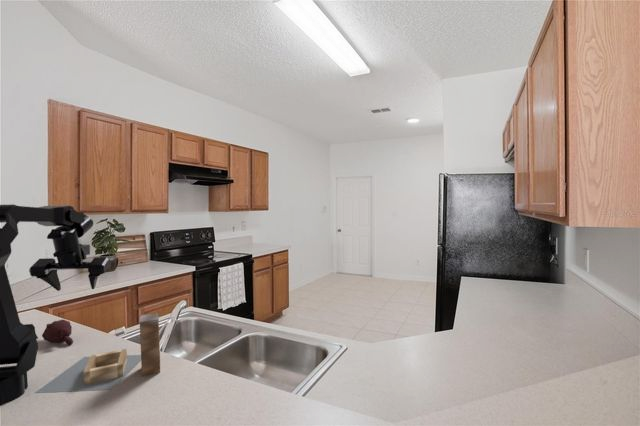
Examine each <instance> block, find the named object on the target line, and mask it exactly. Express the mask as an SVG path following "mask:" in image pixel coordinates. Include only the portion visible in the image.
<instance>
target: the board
mask: <svg viewBox="0 0 640 426" xmlns="http://www.w3.org/2000/svg"><path fill="white" fill-rule="evenodd" d="M90 357H91V356H84V357H82V358H81V359H80V360H78V361H77V362H75V363H74V364H73V365H71V366H70V367H68V368H67V369H66V370H64V371H63V372H62V373H60V374H59V375H57V376H56V377H55V378H53V379H52V380H50V381H49V382H48V383H46V384H45V385H43V386H42V387H41V388H39V389H38V390H37V391H35V392H34V394H42V393H43V394H44V393H46V394H47V393H65V392H67V393H69V392H89V391H90V392H91V391H92V392H93V391H95V392H96V391H113V389H114V388H115V387H116V386H118V384H119V383H121V382H122V380H124V378H125V377H126V376H128V374H130V373H131V371H133V370H134V369H135V368H136V366H138V364H139V363H140V362H141V354H127V362H126V366H125V371H124V376H121V377H117V378H112V379H108V380H103V381H99V382H95V383H90V384H86V385H84V376H83V372H84V370H85V368H86V366H87V363H88V361H89V359H90Z"/></svg>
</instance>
